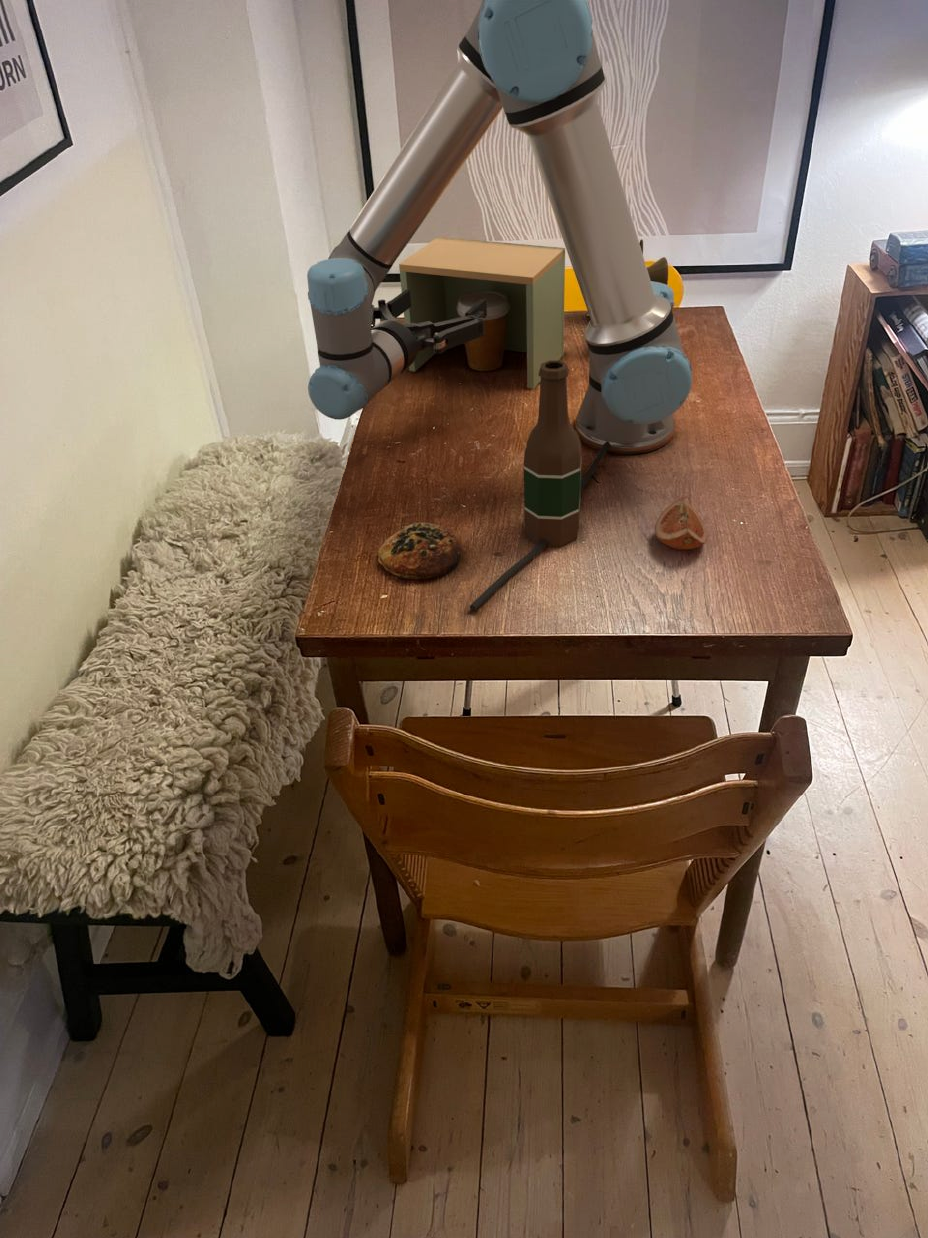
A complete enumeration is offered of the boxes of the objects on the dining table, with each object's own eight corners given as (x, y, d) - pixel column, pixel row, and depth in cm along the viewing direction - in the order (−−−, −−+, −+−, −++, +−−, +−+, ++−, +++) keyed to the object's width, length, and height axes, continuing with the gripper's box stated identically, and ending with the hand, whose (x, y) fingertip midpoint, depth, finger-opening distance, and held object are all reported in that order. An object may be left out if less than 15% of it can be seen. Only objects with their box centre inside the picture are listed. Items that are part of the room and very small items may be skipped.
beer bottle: (564, 554, 119) (568, 383, 104) (513, 539, 123) (509, 371, 108) (590, 525, 124) (597, 357, 109) (540, 511, 128) (540, 346, 113)
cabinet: (533, 389, 158) (532, 277, 146) (409, 370, 167) (398, 263, 155) (563, 354, 168) (565, 247, 156) (445, 339, 177) (438, 236, 165)
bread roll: (455, 584, 115) (447, 550, 112) (372, 588, 118) (363, 556, 115) (470, 537, 124) (463, 505, 121) (393, 542, 127) (385, 511, 124)
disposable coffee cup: (512, 373, 163) (510, 307, 156) (459, 376, 164) (455, 310, 156) (511, 352, 171) (509, 288, 163) (460, 354, 171) (456, 290, 164)
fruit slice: (708, 564, 116) (713, 531, 113) (654, 562, 117) (657, 530, 114) (703, 527, 123) (707, 496, 119) (652, 526, 123) (655, 495, 120)
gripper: (314, 366, 139) (380, 316, 154) (462, 389, 130) (517, 334, 145) (306, 318, 134) (376, 271, 149) (459, 339, 126) (517, 287, 140)
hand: (446, 302), depth 147 cm, fingers open, 13 cm apart
